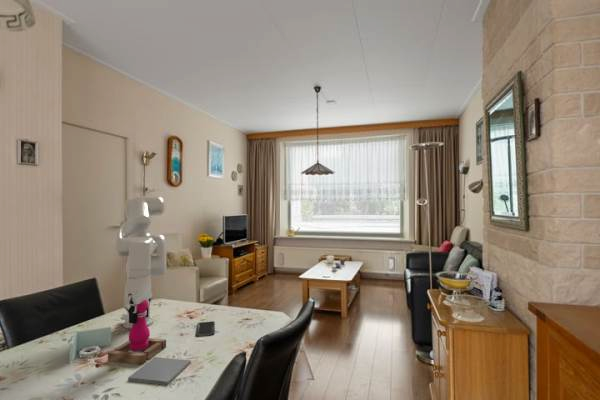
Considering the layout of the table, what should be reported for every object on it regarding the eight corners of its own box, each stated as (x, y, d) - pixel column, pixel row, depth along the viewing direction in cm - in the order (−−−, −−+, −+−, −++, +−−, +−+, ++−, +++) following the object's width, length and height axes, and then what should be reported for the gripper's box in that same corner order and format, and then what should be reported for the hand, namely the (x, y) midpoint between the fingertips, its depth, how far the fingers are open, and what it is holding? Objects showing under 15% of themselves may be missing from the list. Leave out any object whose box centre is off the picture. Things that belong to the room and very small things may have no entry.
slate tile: (128, 380, 102) (128, 377, 102) (155, 359, 116) (155, 356, 116) (168, 384, 100) (168, 381, 100) (190, 363, 113) (190, 360, 114)
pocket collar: (107, 361, 115) (108, 352, 115) (134, 344, 128) (134, 337, 128) (142, 364, 112) (143, 356, 112) (166, 347, 126) (166, 339, 126)
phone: (195, 335, 136) (197, 322, 151) (195, 337, 136) (197, 325, 151) (214, 333, 138) (214, 321, 153) (214, 335, 138) (214, 323, 153)
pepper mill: (154, 344, 123) (154, 293, 123) (139, 353, 117) (139, 298, 117) (139, 342, 126) (139, 291, 126) (123, 350, 119) (124, 296, 119)
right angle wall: (69, 365, 113) (69, 343, 113) (74, 351, 123) (75, 331, 124) (108, 357, 118) (109, 337, 119) (110, 345, 129) (111, 326, 129)
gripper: (145, 267, 130) (144, 311, 130) (114, 277, 113) (113, 328, 113) (162, 268, 129) (161, 312, 129) (132, 278, 112) (132, 329, 112)
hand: (138, 319), depth 121 cm, fingers closed on pepper mill, 5 cm apart
